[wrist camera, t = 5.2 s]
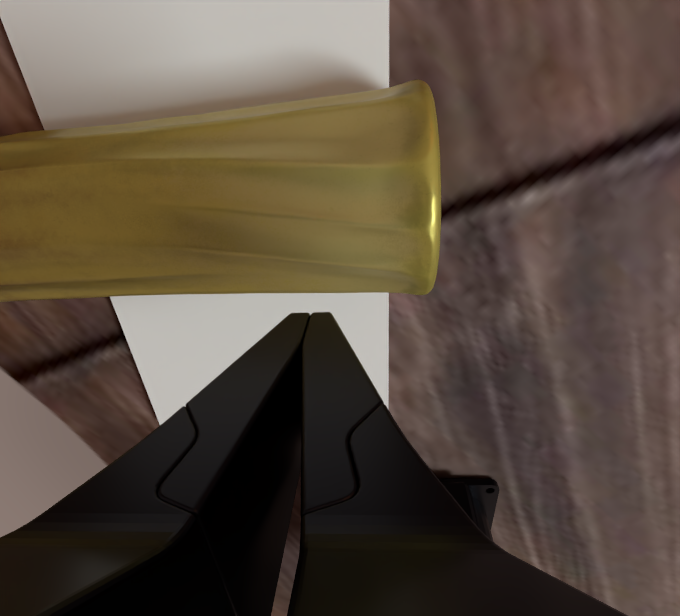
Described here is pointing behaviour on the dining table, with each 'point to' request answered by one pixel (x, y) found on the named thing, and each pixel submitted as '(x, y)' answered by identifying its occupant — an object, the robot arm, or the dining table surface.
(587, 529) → the dining table surface
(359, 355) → the mat
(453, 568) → the robot arm
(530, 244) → the dining table surface
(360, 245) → the vase
